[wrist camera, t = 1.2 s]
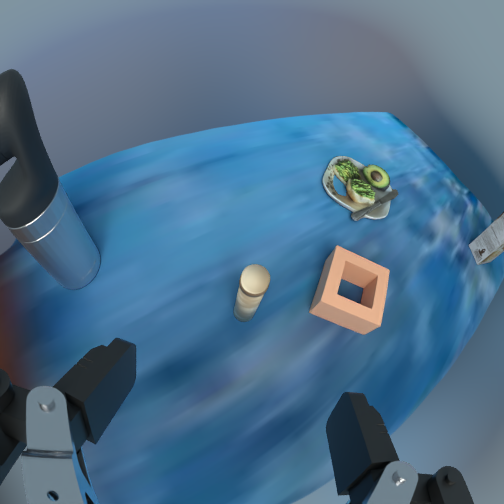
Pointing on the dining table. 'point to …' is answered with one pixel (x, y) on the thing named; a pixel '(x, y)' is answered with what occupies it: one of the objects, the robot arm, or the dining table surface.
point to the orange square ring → (344, 309)
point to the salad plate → (360, 188)
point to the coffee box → (489, 242)
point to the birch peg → (250, 291)
